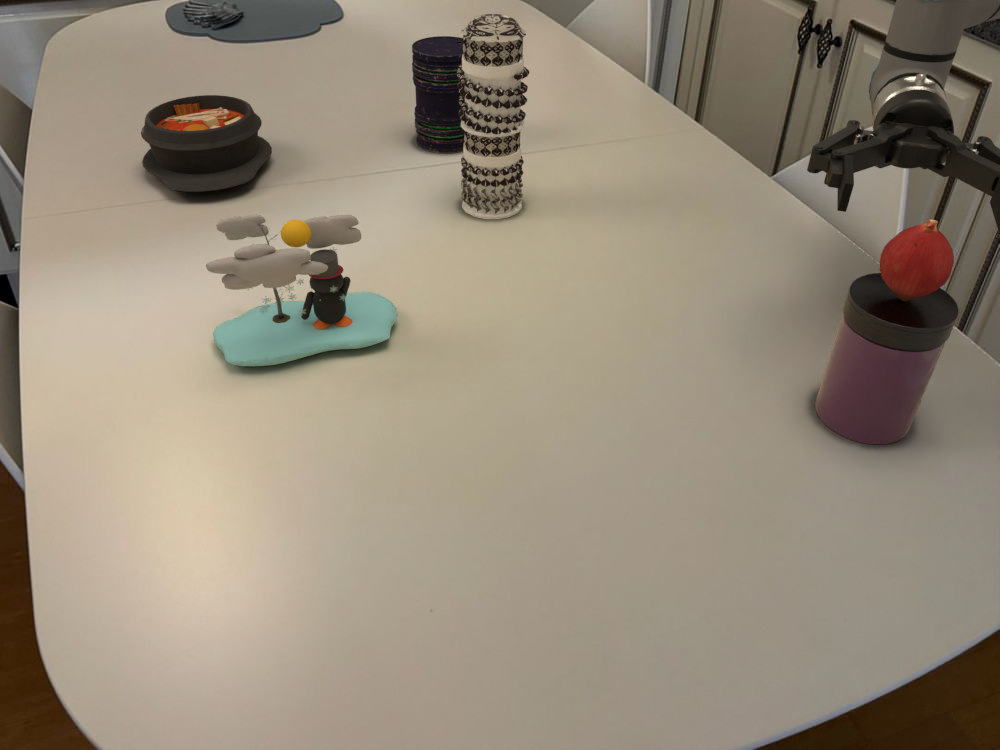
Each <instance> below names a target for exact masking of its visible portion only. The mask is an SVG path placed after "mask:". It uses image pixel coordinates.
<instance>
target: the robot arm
mask: <svg viewBox="0 0 1000 750" xmlns="http://www.w3.org/2000/svg"><path fill="white" fill-rule="evenodd" d="M999 19H1000V0H896V1H895V3H894V8H893V12H892V16H891V19H890V23H889V26H888V30H887V33H886V38H885V41H884V45H883V47H882V50H881V54H880V57H879V61H878V63H877V64H876V65H875V67H874V69H873V71H872V72H871V73H872V74H871V78H870V82H869V84H868V94H869V100H870V106H871V117H872V119H871V120H872V130H868V129H865V127H864V126H863V125H861V123H860V122H861V121H858V120H856V119H850V120H848V121H847V123H846V126H845V127H843V128H842V129H840V130H838V131H836V132H835V133H833V134H831V135H830V136H828V137H826V138H825V139H823V140H821V141H819V142H817V143H816V144H814V145H813V146H812V148H811V152H810V156H809V160H808V164H807V168H806V171H807V173H810V174H819V173H821V172H824V173H825V175H824V180H823V185H826V186H827V187H828V188H832V189H833V188H834V189H837V199H836V200H837V205H836V206H837V208H836V209H837V211H838V212H844V213H846V212H847V211H848V210H847V209H848V207H849V203H850V200H851V196H852V191H853V189H854V187H855V173H858V172H861V171H864V170H867V169H871V168H874V167H876V168H878V169H884V168H886V167H887V168H888V167H890V166H893V167H895V168H899V169H916V168H919V169H922V170H930V171H931V172H933V173H935V174H937V175H939V176H941V177H943V178H947V177H953V178H955V179H957V180H959V181H961V182H962V183H965V184H967V185H969V186H970V187H972V188H974V189H976V190H977V191H980V192H982V193H984V194H986V195H988V196H990V197H991V198H990V200H989V204H990V208H991V211H992V214H993V218H994V221H995V224H996V228H997V230H998V234H999V235H1000V148H999V147H998V146H996V145H995V142H993V140H992V138H990V137H988V136H984V135H980V136H977V139H976V140H975V141H974V142H973V143H972V142H964V141H962V140H961V138H960V137H959V136H957V135H956V134H955V125H954V121H953V116H952V113H951V109H950V107H949V103H948V101H947V95H946V92H945V86H946V83H947V80H948V77H949V74H950V71H951V68H952V65H953V62H954V59H955V57H956V54H957V51H958V49H959V45H960V42H961V39H962V37H963V33H964V30H965V29H966V30H967V29H968V28H972V27H975V26H980V25H982V24H984V23H988V22H990V21H994V20H999Z"/></svg>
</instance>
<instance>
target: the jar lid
mask: <svg viewBox="0 0 1000 750" xmlns="http://www.w3.org/2000/svg"><path fill="white" fill-rule="evenodd" d="M959 312H960V311H959V306H958V303H957V301H956V300H955V299H954V297H953V296H952V295H951V294H949V293H948V292H947V291H946V290H944V289H943V288H942V287H940V288H939V289H938V290H936V291H934V292H932V293H930V294H927V295H925V296H922V297H918V298H915V299H913V300H910V301H903V300H900V299H899V298H898V297H897V295H896V294H895V293H894V292H893V291H892V290H891V289H890V288H889V287H888V286H887V285H886V283H885V282H884V280H883V278H882V276H881V273H880V272H873V273H867V274H863V275H861V276H859V277H857V278H855V279H854V280H853V281H852V283H851V284H850V286H849V289H848V292H847V295H846V297H845V301H844V304H843V308H842V315H843V316H844V319H845V320H846V322H847V324H848V325H849V326H850V327H851V328H852V329H853V330H854V331H856V332H857V333H858V334H860V335H861V336H863V337H865V338H867V339H868V340H870V341H873V342H875V343H878V344H880V345H883V346H887V347H890V348H895V349H901V350H910V351H921V350H929V349H933V348H936V347H939V346H941V345H942V344H944V343H945V344H946V342H947V341H948V340H949V338H950V336H951V333H952V331H953V328H954V326H955V324H956V322H957V319H958V317H959ZM945 344H944V345H945Z"/></svg>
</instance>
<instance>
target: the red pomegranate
mask: <svg viewBox="0 0 1000 750" xmlns="http://www.w3.org/2000/svg"><path fill="white" fill-rule="evenodd" d="M938 223H939V221H938V220H936V219H930V218H929V219H928V220H927V221H925V222H923V223H920V224H917V225H913V226H910V227H907V228H904V229H903V230H902V231H900V232H899V233H898V234H896V235H895V236H894V237H893V238H891V239H890V240H889V241H888V242H887V243H886V244H885V245H884V246H883V249H882V251H881V253H880V257H879V267H878V268H879V273H881V276H882V278H883V280H884V282H885V283H886V285H887V286H888V287H889V288H890V289H891V290H892V291H893V292H894V293H895V294H896V295H897V297H898V298H899V299H900V300H903V301H910V300H913V299H915V298H918V297H922V296H925V295H927V294H930V293H932V292H934V291H936V290H938V289H939V288H942V287H944V285H946V284H947V282H948V280H949V278H950V277H951V274H952V271H953V267H954V264H955V255H954V250H953V248H952V246H951V243H950V242H949V240H948V239H947V237H946V235H944V234H943V232H941V230H939V229H938Z"/></svg>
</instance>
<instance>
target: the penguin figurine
mask: <svg viewBox="0 0 1000 750" xmlns="http://www.w3.org/2000/svg"><path fill="white" fill-rule="evenodd" d="M265 223H266V218H265V217H264V216H262V215H260V214H249V215H243V216H240V215H235V216H229V217H225V218H223V219H221V220H219V221H218V222H217V224H216V230H217V231H218V232H220V233H222V234H224V236H225V237H226V239H227V240H228V241H240V240H244V239H246V238H261V237H265V240H266V243H256V244H251V245H247V246H243V247H241V248H238V249H236V250H234V251H233V255H234V256H229V257H222V258H218V259H213V260H212V261H209V262H206V264H205V268H206V270H207V271H208V272H210V273H213V274H219V275H223V276H222V277H221V282H222V284H223V285H224V288H225V289H226V290H231V291H233V290H234V291H235V290H236V291H237V290H247V291H248V292H249V291H250V289H253V288H256V287H258V286H260V285H262V286H263V288H266V289H273V293H274V297H275V302H272V301H271V297H267V296H266V295H265V298H264V297H263V298H262V301H261V302H262V303H264V304H261V305H260V306H256V307H253V308H251V309H249V310H248V311H245V312H244V313H242V314H240V315H238V316H236V317H233V318H231V319H228V320H225V321H222V322H221V323H219V324H218V325H217V326H216V327H215V328H214V330H213V331H212V337H213V340H214V343H215V345H216V346H217V347H218V349H219V350H220V351H221V352H222V354H223V356H224V359H225V361H226V362H227V363H228V364H230V365H234V366H239V367H267V366H275V365H280V364H284V363H289V362H292V361H295V360H300V359H302V358H306V357H308V356H309V357H311V356H314V355H316V354H320V353H325V352H329V351H337V350H354V349H362V348H367V347H370V346H373V345H377V344H379V343H382V342H385V341H387V340H388V339H390V338H391V331H392V327H393V326H394V325H395V324H396V321H397V319H398V313H397V307H396V305H395V304H394V303H393V302H392V301H391V300H389V299H388V298H387V297H385V296H384V295H381V294H379V293H375V292H370V291H357V292H356V291H355V292H348V291H349V288H350V286H351V282H352V281H351V278H350V277H349V276H344V277H343V275H342V274H343V272H344V267H343V266H342V265H340V264H339V259H338V251H337V248H335V247H334V246H333V245H339V246H345V245H352V244H356V243H359V242H360V241H362V232H361V230H360V229H359V228H357V227H355V226H358V225H359V220H358V218H357V217H356V216H354V215H352V214H337V215H330V216H326V215H321V216H313V217H309V218H307V219H304V220H301V219H291V220H289V221H287V222H285V223H284V224H283V225H282V226H281V229H280V237H281V240H282V242H283V243H284V244H285V245H287V246H288V247H291V248H281V249H276V247H274V246H273V245H271V244H270V241H271V240H273V241H275V240H276V237H277V236H278V235H279V233H276V234H275V235H274V236H273V237H272V238H270V239H268V237H267V236H268V235H269V233H270V232H269V228H268V226H267V225H265ZM305 245H306V247H307V248H308V249H312V250H315V249H318V250H315V251H313V252H312V253H311V251H309V250H308V249H304V248H301V247H304V246H305ZM331 246H333V247H332V248H330V249H324V248H327V247H331ZM298 275H300V276H309V277H310V278H309V286H310V288H311V289H312V290H313V291H308V292H307V293H306V296H305V299H304V300H294V299H298V297H296V296H297V294H293V293H291V291H295V289H294V287H295V286H294V285H292V286H290V285H291V284H292V283H295V281H297V282H296V284H297V285H298V284H299V285H300V286H302V284H304V283H305V282H304V279H301V278H300V277H299V280H297V276H298ZM278 288H279V290H278ZM282 288H284V289H285V294H286V293H291V294H287V297H288V298H287V299H288V300H284V299H285V297H282V296H283V295H284V290H282ZM280 291H281V294H280V295H279V292H280Z"/></svg>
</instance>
